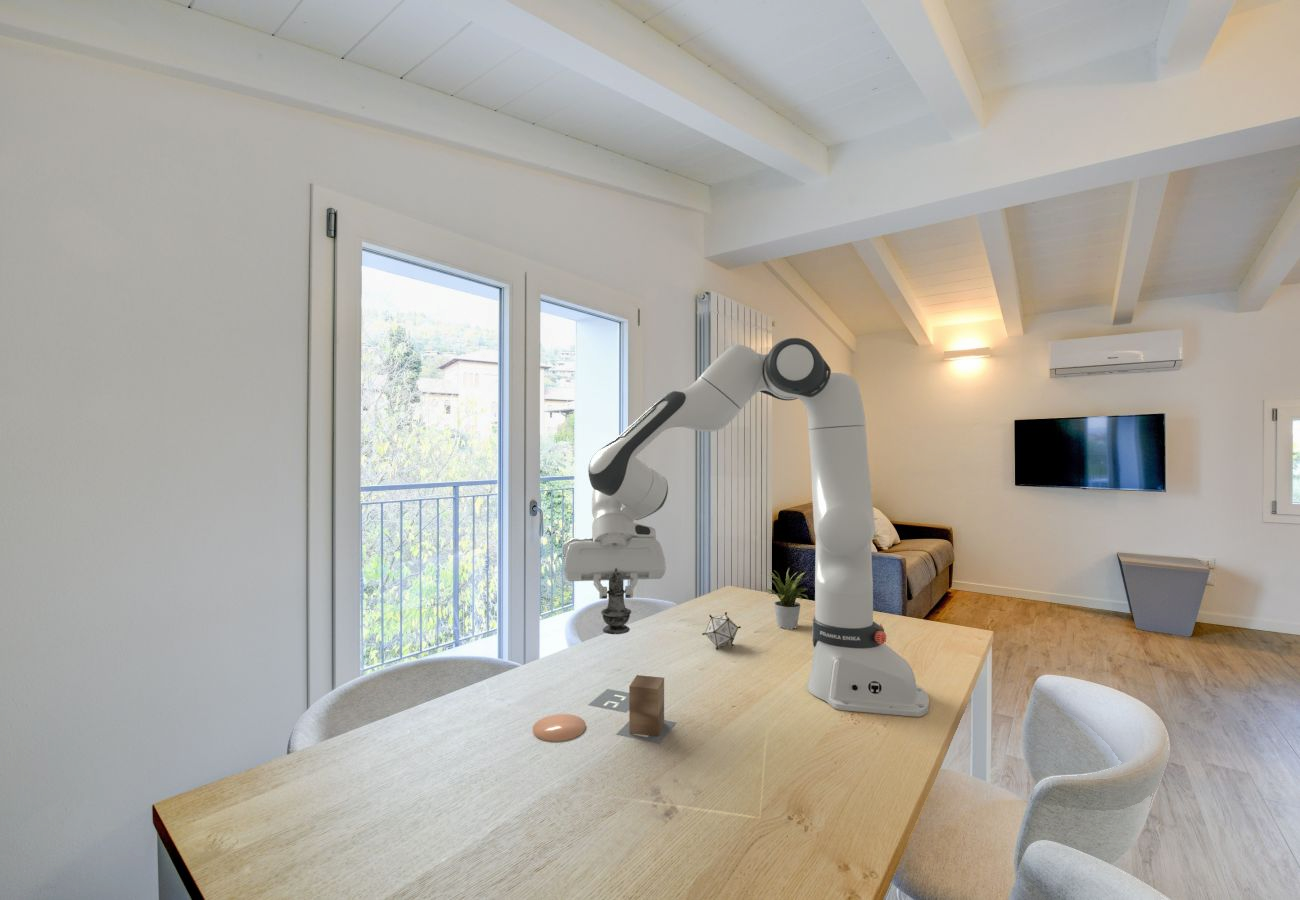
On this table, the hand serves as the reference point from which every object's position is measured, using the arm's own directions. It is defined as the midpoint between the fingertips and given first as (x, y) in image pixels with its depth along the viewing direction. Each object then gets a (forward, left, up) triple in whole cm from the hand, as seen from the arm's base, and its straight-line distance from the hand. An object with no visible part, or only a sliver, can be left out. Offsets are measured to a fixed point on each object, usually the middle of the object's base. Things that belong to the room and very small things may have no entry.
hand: (616, 596), depth 110 cm
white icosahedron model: (-10, -39, -20) cm, 45 cm away
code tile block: (-10, +7, -20) cm, 24 cm away
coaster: (+4, +13, -20) cm, 25 cm away
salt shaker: (0, -1, -7) cm, 7 cm away
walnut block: (-10, +7, -20) cm, 24 cm away
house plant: (-21, -61, -20) cm, 67 cm away
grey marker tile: (0, -1, -20) cm, 20 cm away
